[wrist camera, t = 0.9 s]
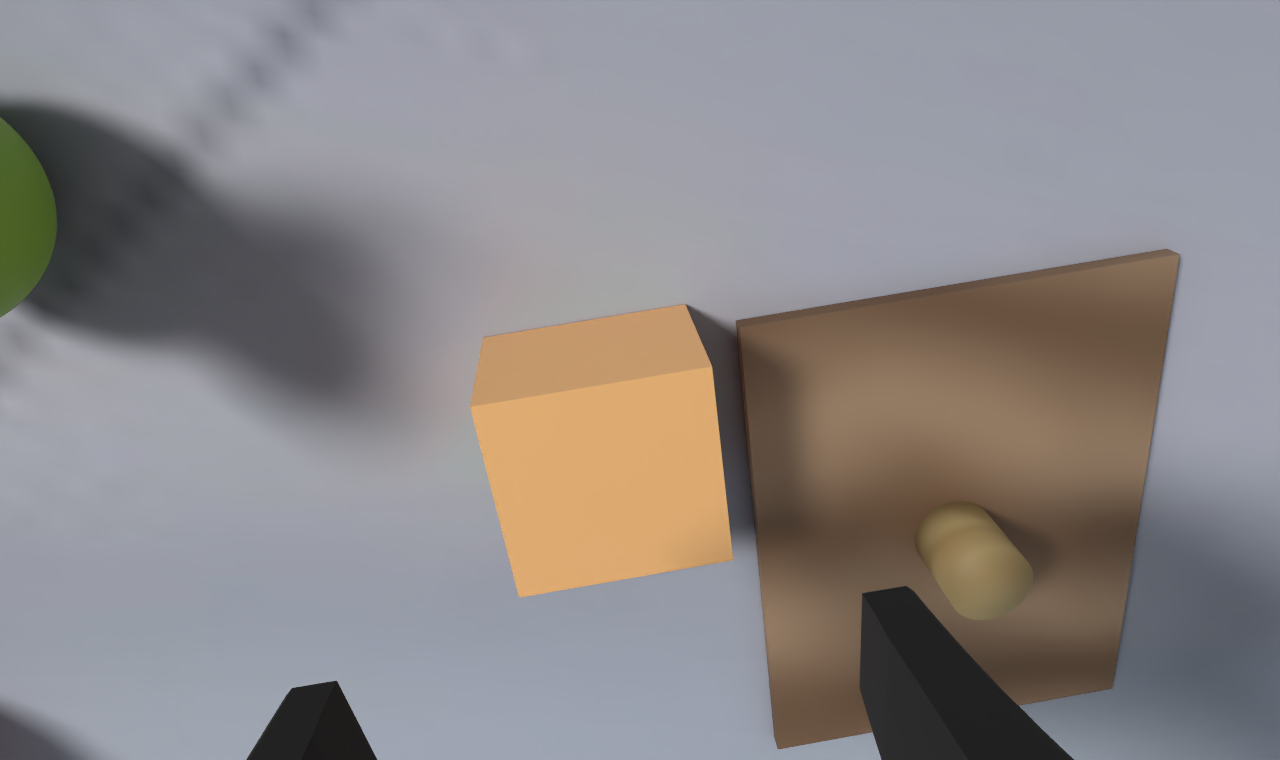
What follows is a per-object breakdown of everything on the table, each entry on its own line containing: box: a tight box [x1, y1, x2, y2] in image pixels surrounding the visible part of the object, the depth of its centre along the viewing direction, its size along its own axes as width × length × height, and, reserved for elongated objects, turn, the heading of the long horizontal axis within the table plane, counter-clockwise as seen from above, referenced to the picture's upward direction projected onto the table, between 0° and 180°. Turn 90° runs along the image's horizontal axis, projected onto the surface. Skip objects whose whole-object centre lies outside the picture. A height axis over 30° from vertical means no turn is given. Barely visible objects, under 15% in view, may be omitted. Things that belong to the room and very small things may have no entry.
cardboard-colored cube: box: [470, 304, 733, 597], centre depth 21 cm, size 5×5×4 cm
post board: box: [736, 249, 1180, 749], centre depth 25 cm, size 16×12×3 cm
